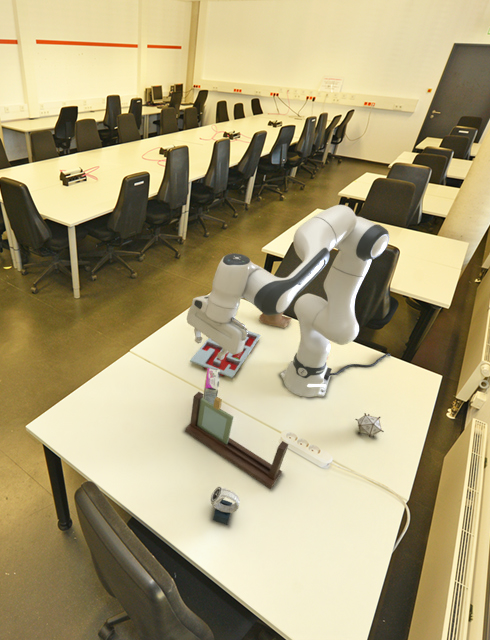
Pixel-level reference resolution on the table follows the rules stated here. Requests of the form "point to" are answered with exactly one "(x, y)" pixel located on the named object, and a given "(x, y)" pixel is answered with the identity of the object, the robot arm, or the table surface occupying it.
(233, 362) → the maze game
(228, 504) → the watch
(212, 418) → the window pane
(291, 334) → the table surface
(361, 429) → the game die
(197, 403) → the window frame
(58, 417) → the table surface
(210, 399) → the candy bar box
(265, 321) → the stone cup
